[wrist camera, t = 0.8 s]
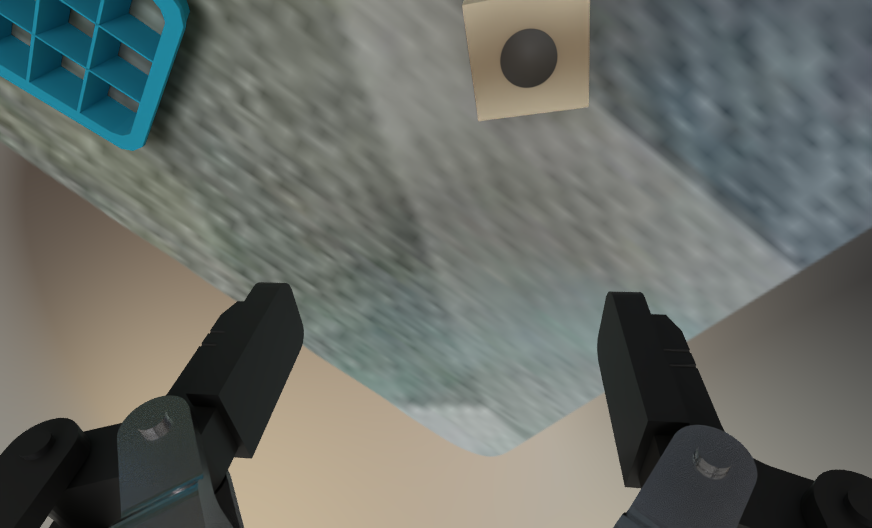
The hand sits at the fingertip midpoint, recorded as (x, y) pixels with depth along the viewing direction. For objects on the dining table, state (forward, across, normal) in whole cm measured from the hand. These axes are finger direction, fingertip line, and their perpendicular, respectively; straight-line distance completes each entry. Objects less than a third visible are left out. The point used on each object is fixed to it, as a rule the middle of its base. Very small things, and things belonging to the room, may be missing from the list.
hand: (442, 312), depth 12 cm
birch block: (+20, -3, -3) cm, 20 cm away
